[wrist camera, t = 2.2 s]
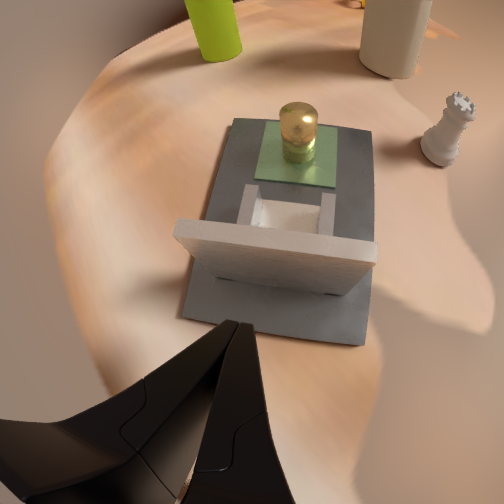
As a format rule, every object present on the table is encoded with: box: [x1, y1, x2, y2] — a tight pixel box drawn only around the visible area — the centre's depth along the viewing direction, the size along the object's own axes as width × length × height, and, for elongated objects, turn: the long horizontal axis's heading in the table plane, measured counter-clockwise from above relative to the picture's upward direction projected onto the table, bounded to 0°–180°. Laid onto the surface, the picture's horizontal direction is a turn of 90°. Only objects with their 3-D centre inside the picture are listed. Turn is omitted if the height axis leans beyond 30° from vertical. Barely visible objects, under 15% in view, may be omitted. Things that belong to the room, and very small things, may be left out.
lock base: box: [182, 102, 374, 346], centre depth 22 cm, size 20×14×6 cm
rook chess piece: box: [420, 92, 475, 166], centre depth 21 cm, size 4×4×8 cm
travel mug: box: [359, 0, 433, 79], centre depth 22 cm, size 8×8×18 cm
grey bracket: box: [172, 184, 378, 295], centre depth 18 cm, size 6×10×8 cm, turn 80°
